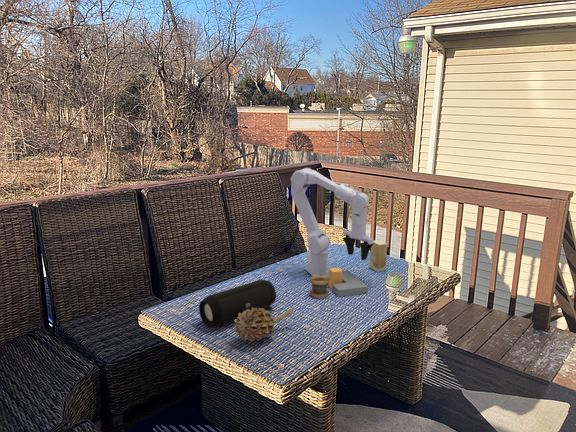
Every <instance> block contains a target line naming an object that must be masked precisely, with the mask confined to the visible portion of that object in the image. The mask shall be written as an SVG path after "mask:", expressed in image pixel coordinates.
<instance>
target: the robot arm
mask: <svg viewBox="0 0 576 432" xmlns="http://www.w3.org/2000/svg"><path fill="white" fill-rule="evenodd" d="M309 185H319V186H320V187H323V188H325V189H326V190H329V191H331V192H333V193H334V196H335V197H336V198H338V199H339V200H341V201H343V202H345V203H347V204H349V205H350V206H351V209H352V212H351V226H350V227H351V229H350V230H344V231H343V236H344V237H343V238H342V239H343V241H344V244H345V246H346V251H347V254H348V256H352V255H353V254H354V250H355V244H356V241H357V240H358V241H360V243H359V248H360V256H361V257H360V259H361V260H362V261H367V259H368V256H369V253H370V252H371V247H372V246H373V241H374V238H372V237H370V236H368V235H367V233H366V232H367V212H368V205H369V203H370V198H369V196H368V195H367V194H366V193H365V192H363V191H362V192H360V191H359V190H355V189H354V188H351V187H350V186H349V184H348V183H341V184H337V183H336V182H334V181H332V180H331V179H329V178H328V177H326V176H324V175H322V174H321V173H320V172H318V171H317V170H315V169H312V168H310V167H304V168H303V169H299V170H298V169H297V170H295V171H294V172H293V173H292V175H291V177H290V186H291V188H290V189H291V190H290V194H291V197H292V199H293V201H294V203H295V206H296V208H297V211H298V213H299V216H300V218H301V221H302V223H303V225H304V228H305V230H306V232H307V237H306V240H307V243H308V245H307V247H308V250H309V252H308V253H307V267H305V270H306V271H307V273H308V274H310V276H311V277H313V276H320V273H329V270H328V261H329V260H328V259H329V256H328V254H329V250H328V248H329V246H330V244H331V240H330V237H329V236H328V235H327V234H326V233H325V231H324V230H323V229H322V228H321V227H320V226H319V223H318V221H317V218H316V216H315V214H314V211H313V209H312V206H311V204H310V202H309V199H308V196H307V195H306V191H307V190H308V187H309Z"/></svg>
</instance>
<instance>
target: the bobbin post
mask: <svg viewBox="0 0 576 432" xmlns="http://www.w3.org/2000/svg"><path fill="white" fill-rule="evenodd" d="M309 283H310V284H311V289H310V290H309V296H310V297H312V298H315V299H316V298H317V299H326V298H327V297H329V295H330V292H329V289H328V283H329V278H328V277H325V276H311V277H310V278H309Z"/></svg>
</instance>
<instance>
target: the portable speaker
mask: <svg viewBox="0 0 576 432" xmlns="http://www.w3.org/2000/svg"><path fill="white" fill-rule="evenodd" d="M276 298H277V291H276V289H275V286H274V284H273V283H272V282H271V281H269V280H268V279H258V280H255V281H251V282H248V283H245V284H242V285H239V286H236V287H232V288H228V289H227V290H223V291H219V292H216V293H213V294H209V295H207V296H206V297H204V299H202V300H201V301H200V303H199V305H198V311H199V317H200V319H201V320H202V322H203V323H204V324H205V326H208V327H219V326H223V325H224V324H227V323H230V322H232V321H234V320H235V319H237V317H239V313H243V312H244V311H246V310H247V309H249V310H251V309H252V307H253V308H257V310H258V309H259V308H260V309H261V308H263V309H264V310H265V309H267V308H269V307H271V306H272V305H273V304H274V303H275V301H276Z"/></svg>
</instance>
